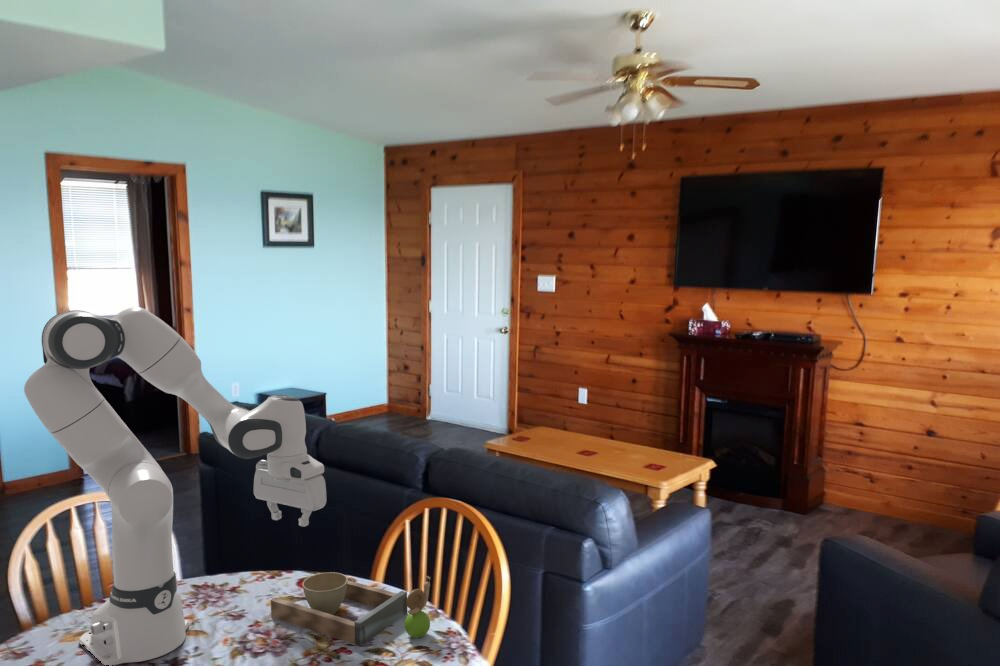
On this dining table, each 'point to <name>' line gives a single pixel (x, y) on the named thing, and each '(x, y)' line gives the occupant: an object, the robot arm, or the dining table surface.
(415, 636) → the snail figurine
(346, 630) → the walled lane
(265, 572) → the dining table surface
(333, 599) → the flower pot
